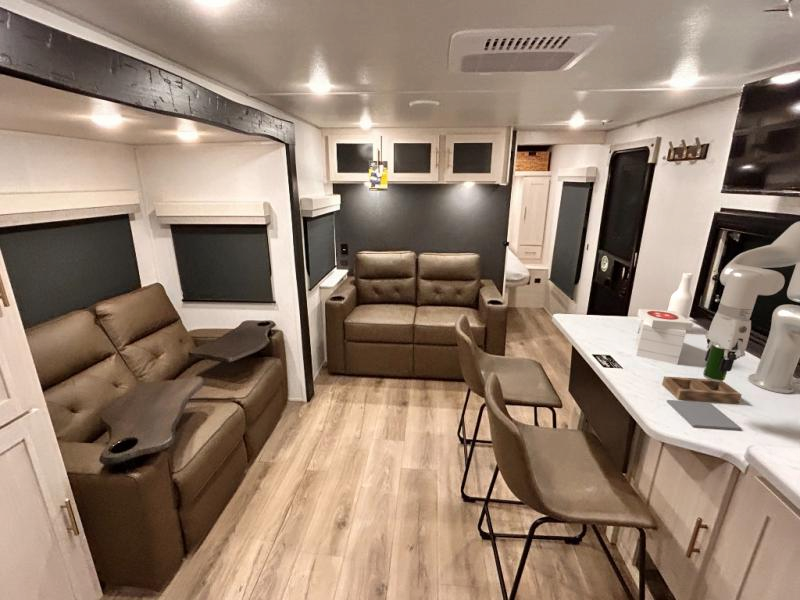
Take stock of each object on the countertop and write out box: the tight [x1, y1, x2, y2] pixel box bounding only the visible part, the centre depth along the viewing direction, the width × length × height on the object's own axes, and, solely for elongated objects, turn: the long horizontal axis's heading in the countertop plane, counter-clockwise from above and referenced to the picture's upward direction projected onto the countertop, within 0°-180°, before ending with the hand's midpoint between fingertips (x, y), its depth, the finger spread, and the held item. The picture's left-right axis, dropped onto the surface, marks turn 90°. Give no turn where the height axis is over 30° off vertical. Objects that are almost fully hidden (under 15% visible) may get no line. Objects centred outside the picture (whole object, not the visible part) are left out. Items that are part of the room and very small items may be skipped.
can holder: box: [661, 376, 743, 404], centre depth 135 cm, size 20×10×4 cm, turn 85°
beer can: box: [702, 341, 733, 382], centre depth 117 cm, size 5×5×12 cm
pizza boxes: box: [635, 308, 694, 365], centre depth 169 cm, size 19×30×18 cm, turn 148°
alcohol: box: [667, 272, 694, 320], centre depth 190 cm, size 9×9×30 cm
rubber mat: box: [666, 399, 742, 431], centre depth 123 cm, size 14×14×1 cm
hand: (717, 365), depth 118 cm, fingers closed on beer can, 5 cm apart
